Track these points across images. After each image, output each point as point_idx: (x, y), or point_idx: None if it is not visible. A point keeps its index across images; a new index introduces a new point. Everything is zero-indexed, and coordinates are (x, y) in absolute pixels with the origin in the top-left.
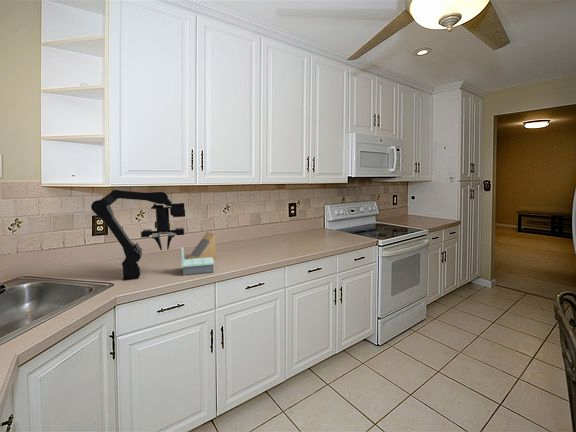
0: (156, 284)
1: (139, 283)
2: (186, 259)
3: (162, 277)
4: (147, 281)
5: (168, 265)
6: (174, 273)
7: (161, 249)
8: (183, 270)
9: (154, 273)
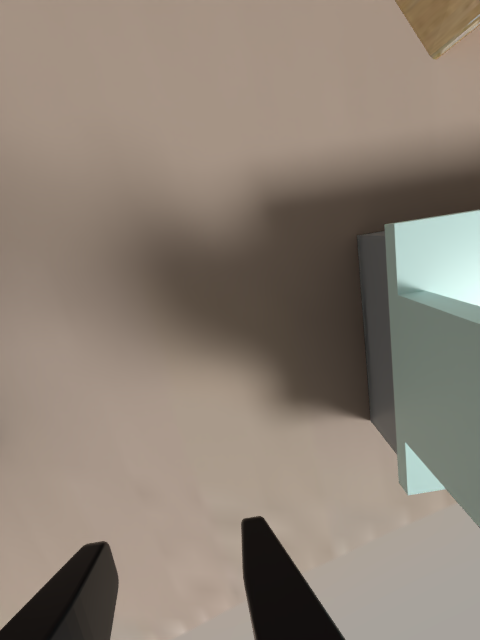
0: (200, 575)
1: (63, 545)
2: (450, 228)
3: (201, 439)
4: (108, 512)
5: (147, 22)
6: (282, 347)
7: (113, 612)
8: (395, 446)
9: (88, 318)
